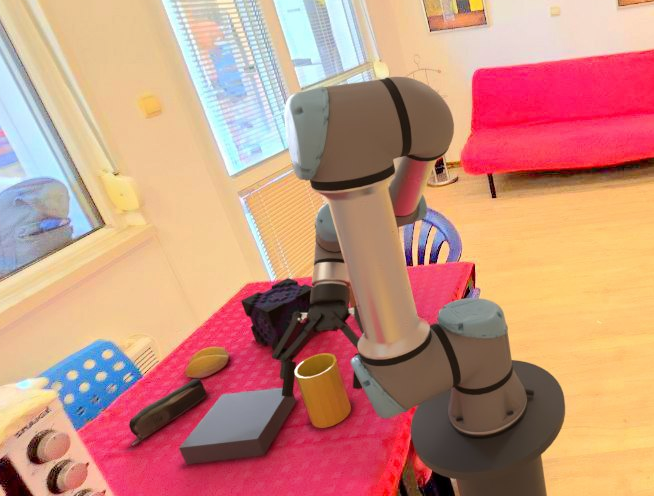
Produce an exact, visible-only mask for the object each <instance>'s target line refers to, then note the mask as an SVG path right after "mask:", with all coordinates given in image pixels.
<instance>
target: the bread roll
mask: <svg viewBox="0 0 654 496" xmlns="http://www.w3.org/2000/svg"><path fill="white" fill-rule="evenodd" d="M229 357H230V354H229V352H228V351H227V349H225V348H223V347H220V346H215V345H214V346H207V347H205V348H202V349H200V350H198V351H196V352H195V353H194V354H193V355H192V357H190V358H189V360H188V365H187V366H186V368H185V372H184V373H185V376H186V377H188V378H192V379H196V378H198V379H202V378H206V377H209V376H212V375H214V374H215V373H218V372H219V371H220V370H222V369H223V368H224V367H226V365H227V364H228V362H229Z"/></svg>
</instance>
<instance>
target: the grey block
mask: <svg viewBox="0 0 654 496" xmlns="http://www.w3.org/2000/svg"><path fill="white" fill-rule="evenodd" d="M282 389H283V386H282V387H273V388H266V389H257V390H248V391H239V392H230V393H221V395H220V396H219V397H218V398H217V400H216V401H215V403H214V404H213V405H212V406H211V407H210V408H209V410H208V411H207V412H206V413H205V414H204V416H203V417H202V418H201V420H200V421H199V422H198V423H197V425H196V426H195V427H194V428H193V430H192V431H191V432H190V434H188V436H187V437H186V438H185V440H184V441H183V442H182V443H181V445H180V446H179V447H178V449H179V452H180V454H181V456H182V457H183V460H184V462H185V464H186V465H194V464H201V463H211V462H220V461H227V460H236V459H245V458H251V457H252V458H253V457H260V456H265V454H266V453H267V451H268V450H269V448H270V446H271V445H272V444H273V441H274V439H276V436H277V434H278V433H279V432H280V430H281V428H282V427H283V424H284V423H285V422H286V420H287V418H288V417H289V414H290V413H291V411H292V410H293V408H294V407H295V405H296V403H297V400H296V397H295V394H294V392H293V396H292V397H286V396H282Z"/></svg>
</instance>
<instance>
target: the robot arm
mask: <svg viewBox="0 0 654 496" xmlns="http://www.w3.org/2000/svg"><path fill="white" fill-rule="evenodd" d="M284 129H285V137H286V143H287V149H288V154H289V157H290V159H291V165H292V169H293V171H294V174H295V176H296V178H298V180H301V181H306V182H307V181H309V183H310V187H311V189H312V191H313V192H315V193H317V194H319V195H320V196H323V197H325V198H326V200H327V202H326V203H325V204H323V205H321V207H319V209H318V211H317V214H316V217H315V221H314V229H315V246H314V257H313V258H314V259H313V267H312V268H313V269H312V275H311V276H312V277H311V285H312V287H313V288H312V289H311V296H310V310H309V312H308V313H300V312H297V311H295V312H294V313H293V316H292V321H291V323H290V325H289V327H288V328H287V330H286V332H285V334H284V335H283V337H282V339H281V340H280V342H279V344H278V346H277V347H276V349H275V351H274V350H273V352H272V354H271V358H272V360H276V361H279V362H280V371H279V378H280V380H283V381H282V387H283V389H282V396H286V397H292V396H293V393H294V389H295V380H296V377H295V369H296V367H297V362H295V361H294V360H295V358H296V357H297V356H298V355H299V354H300V353H301V351H302V350H304V348H305V347H306V346H307V344H308V343H309V342H310V341H311V340H312V339H313V338H314V337H315V336H316V334H317V333H318V332H320V333H322V334H323V333H328V332H338V331H339V330H340V331H341V332H342V333H343V335H344V336H345V337H346V338H347V339H348V340H349V341H350V343H351V344H352V345H353V346H354V347H355V348H356V350H357V352H358V353H354V357H352V358H351V359H350V365H351V367H352V370H353V377H352V388H353V389H357V390H363V392H364V393H365V395H366V397H367V399H368V401H369V403H370V404H371V406H372V408H373V410H374V412H375V413H376V415H377V416H378V417H379V418H381V419H384V420H389V419H392V418H394V417H397V416H398V415H401V414H403V413H408V412H409V411H410V410H411V409H414V408H415V407H417V406H418V405H419V404H421V403H423V402H425V401H427V400H429V399H431V398H433V397H435V396H437V395H439V394H441V393H443V392H445V391H447V390H449V389H451V392H450V396H449V397H450V400H448V401H449V405H448V415H449V420H450V423H451V426H452V427H453V429H454V430H455V431H456V432H457V433H459V434H461V435H463V436H465V437H468V438H474V439H484V438H491V437H495V436H498V435H500V434H503V433H505V432H507V431H508V430H510V429H512V428H513V427H514V426H516V425H517V424H518V423H519V422H520V421H521V419H522V418H523V416H524V415H525V413H526V410H527V404H528V403H527V395H531V396H533V395H534V391H532V390H527V389H524V387H523V385H522V383H521V381H520V380H519V378H518V376H517V375H516V373H515V371H514V370H513V366H512V360H513V359H512V353H511V345H510V340H509V331H508V330H509V326H508V324H507V322H506V317H505V313H504V311H503V309H502V306H500V305H499V304H497V302H494V301H492V300H490V299H486V298H478V297H467V298H466V297H465V298H460V299H456V300H453V301H451V302H447V304H445V305H443V307H442V308H441V309H439V311H438V315H437V322H434V323H431V324H429V322H428V320H426V319H425V318H423V317H420V316H419V315H418V311H417V306H416V302H415V298H414V294H413V289H412V285H411V280H410V276H409V272H408V268H407V263H406V258H405V255H404V251H403V246H402V242H401V237H400V232H399V229H398V228H401V227H404V226H407V225H413V224H414V223H416V222H419V221H423V220H424V219H425V218H426V217H427V215H428V205H427V201H426V198H425V196H424V192H425V189H426V187H427V185H428V182H429V180H430V178H431V175H432V173H433V171H434V168H435V165H436V164H437V161H438V160H439V159H441V158H442V157H444V156H445V154H447V152H448V150H449V148H450V146H451V144H452V141H453V138H454V134H455V121H454V117H453V114H452V111H451V109H450V107H449V105H448V104H447V102H446V101H445V99H444V98H443V96H442V95H440V93H439V92H437V91H436V89H434V88H432V86H430V85H428V84H427V83H425V82H422V81H421V80H417V79H414V78H411V77H406V76H389V77H385V78H381V79H373V80H367V81H360V82H359V81H358V82H351V83H344V84H337V85H328V86H319V87H316V88H311V89H308V90H303V91H299V92H295V93H293V94H291V95H290V96H289V98H288V99H287V101H286V103H285V106H284ZM350 284H351V287H352V291H353V295H354V298H355V302H356V306H355V307H354V308H351V307H350V301H349V300H350V288H349V287H348V286H350ZM350 316H352V318H354V317H355V318H354V320H355V319H356V320H355V321H356V325H358V329H359V330H360V332H361V336H360V337H359V336H358V335H357V333H355V332H354V330H353V329H352V328H351V326H350V325H349V324H348V323H347V320H348V319H349V317H350ZM306 319H308V320H309V324H308V325H307V326H306V327H305V328H304V331H303V332H302V333H301V335H300V336H299V337H298V338H297V339H296V340H295V341H294V339H295V338H296V336H297V334H298V333H299V331H300V329H301V327H302V325H303V323H305V322H306ZM318 334H319V333H318ZM318 334H317V335H318ZM293 341H294V343H293ZM292 343H293V344H292Z"/></svg>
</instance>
